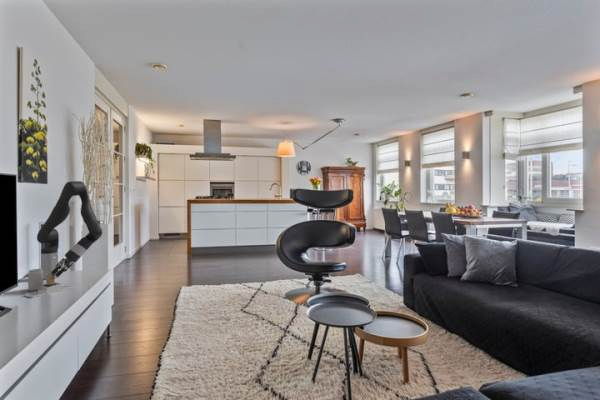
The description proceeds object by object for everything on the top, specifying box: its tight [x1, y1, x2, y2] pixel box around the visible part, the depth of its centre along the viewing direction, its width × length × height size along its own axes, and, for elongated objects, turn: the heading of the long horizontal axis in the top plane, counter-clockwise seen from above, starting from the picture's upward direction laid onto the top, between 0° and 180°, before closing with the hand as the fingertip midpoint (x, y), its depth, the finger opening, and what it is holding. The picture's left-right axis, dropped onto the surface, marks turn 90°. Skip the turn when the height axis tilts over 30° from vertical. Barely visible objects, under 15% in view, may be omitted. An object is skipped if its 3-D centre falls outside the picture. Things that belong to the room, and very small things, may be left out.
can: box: [27, 268, 45, 292], centre depth 213 cm, size 8×8×12 cm
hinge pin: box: [45, 274, 56, 287], centre depth 208 cm, size 4×4×10 cm
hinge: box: [24, 282, 76, 299], centre depth 208 cm, size 9×23×4 cm, turn 154°
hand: (54, 275), depth 209 cm, fingers open, 8 cm apart
